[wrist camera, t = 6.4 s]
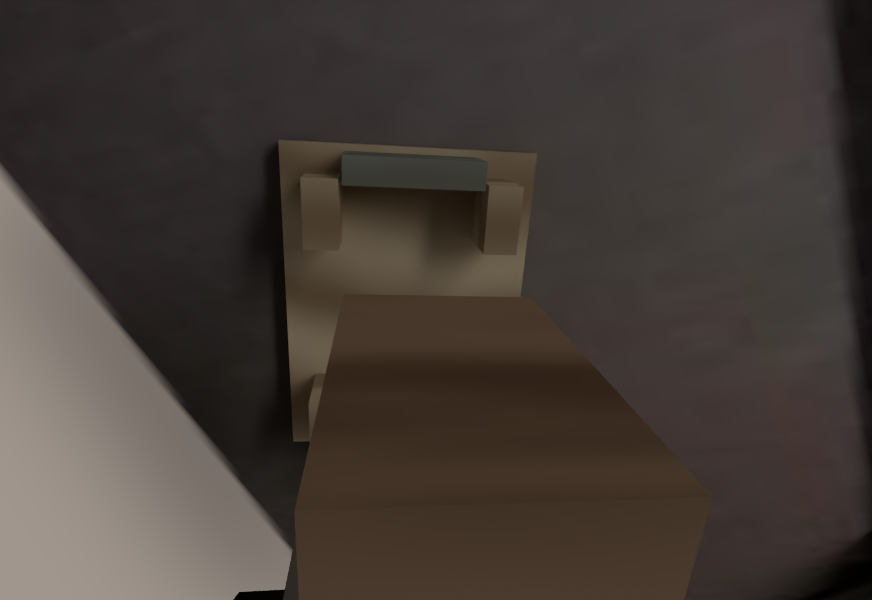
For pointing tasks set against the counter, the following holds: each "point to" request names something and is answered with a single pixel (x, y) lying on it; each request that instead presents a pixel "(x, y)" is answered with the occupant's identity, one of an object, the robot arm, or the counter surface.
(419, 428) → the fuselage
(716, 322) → the counter surface
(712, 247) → the counter surface
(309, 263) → the cradle
